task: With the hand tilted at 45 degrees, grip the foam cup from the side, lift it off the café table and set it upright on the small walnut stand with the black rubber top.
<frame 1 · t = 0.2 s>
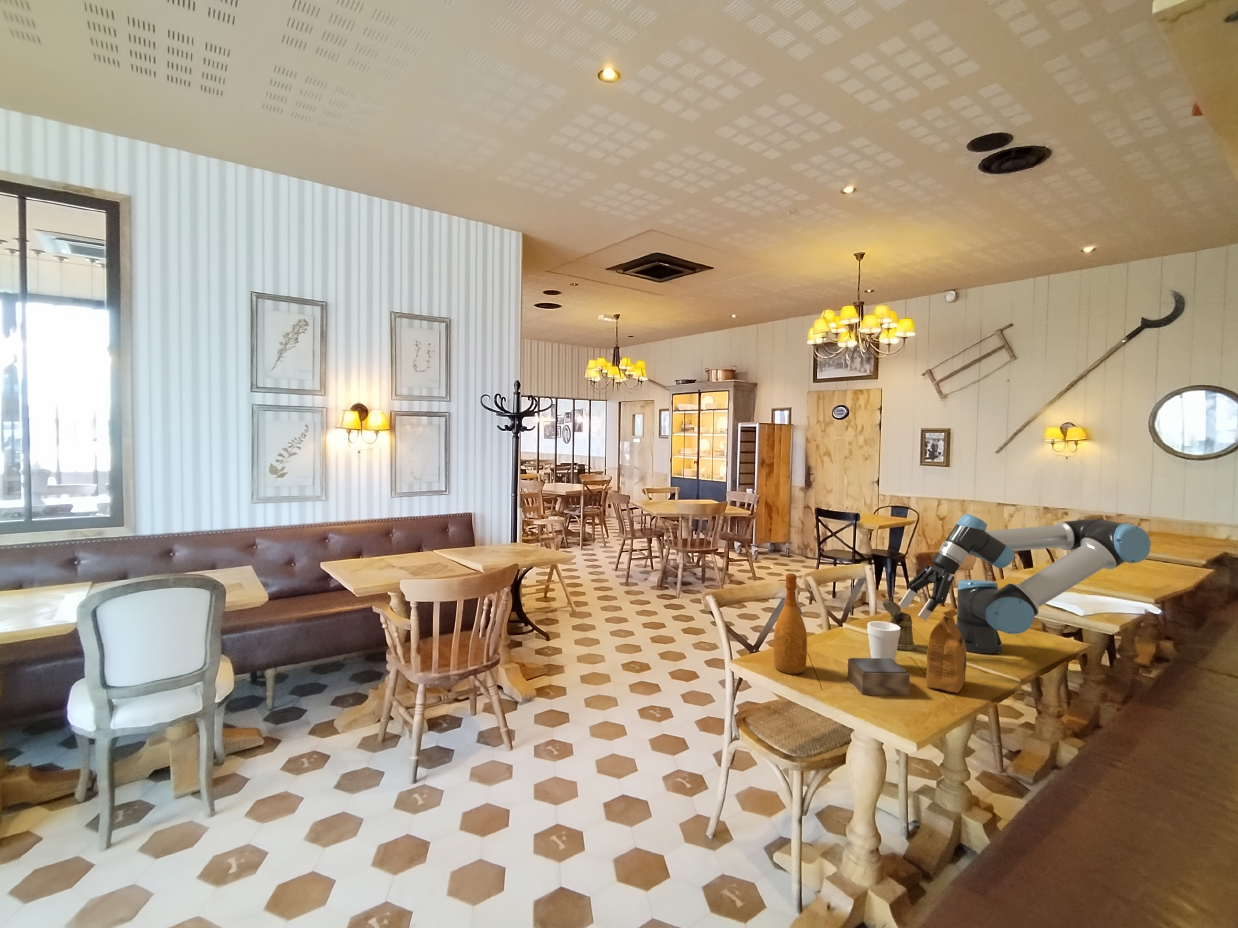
hand: (911, 612, 186), 16 cm above the table, tool tilted 35°, fingers open, 13 cm apart
wooden mug: (896, 648, 198), on the table
coffee package: (946, 686, 167), on the table
walnut stand: (877, 686, 167), on the table
wine bottle: (789, 669, 179), on the table
foam cup: (882, 667, 182), on the table
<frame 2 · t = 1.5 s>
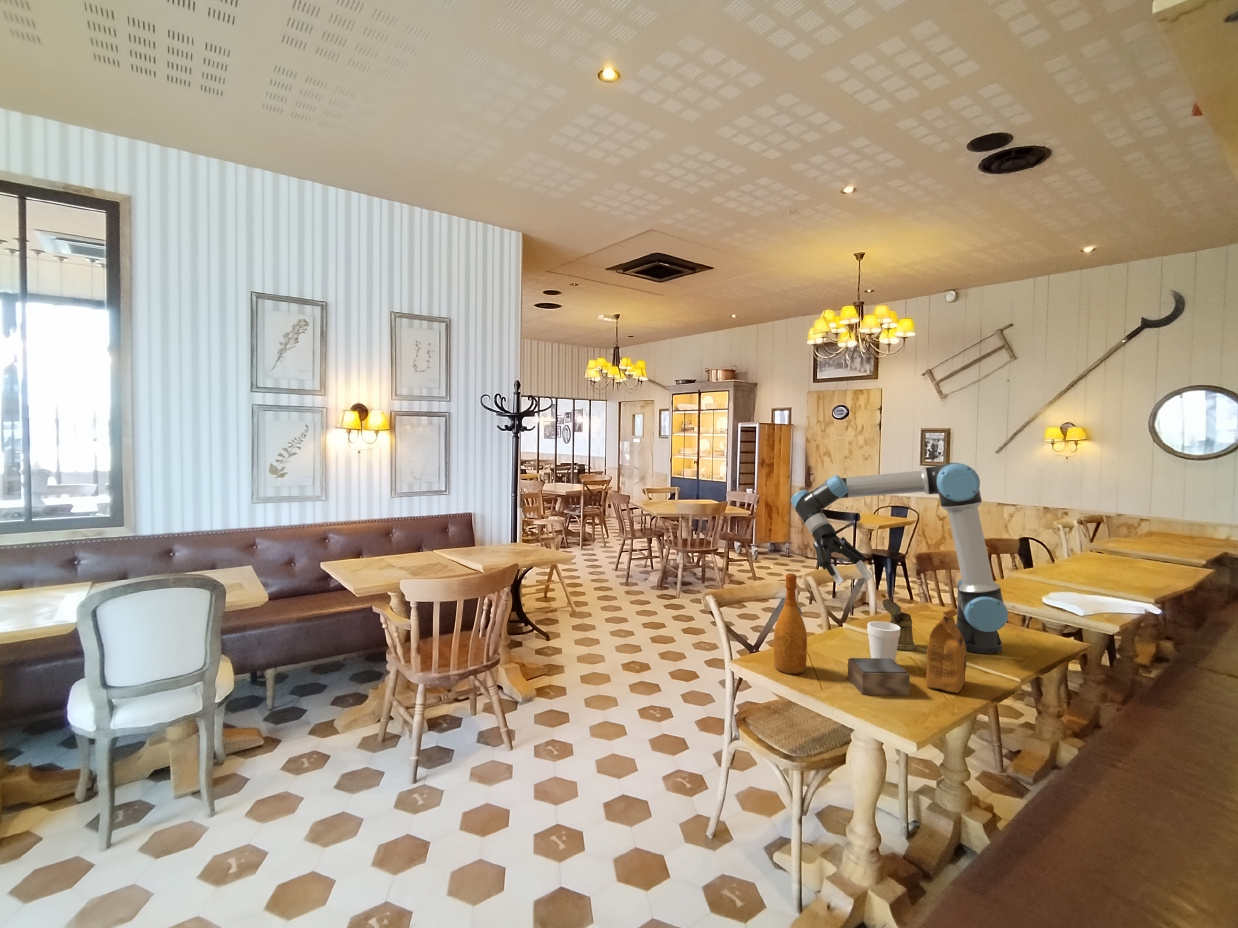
hand: (855, 580, 190), 25 cm above the table, tool tilted 45°, fingers open, 13 cm apart
nothing on the table moved.
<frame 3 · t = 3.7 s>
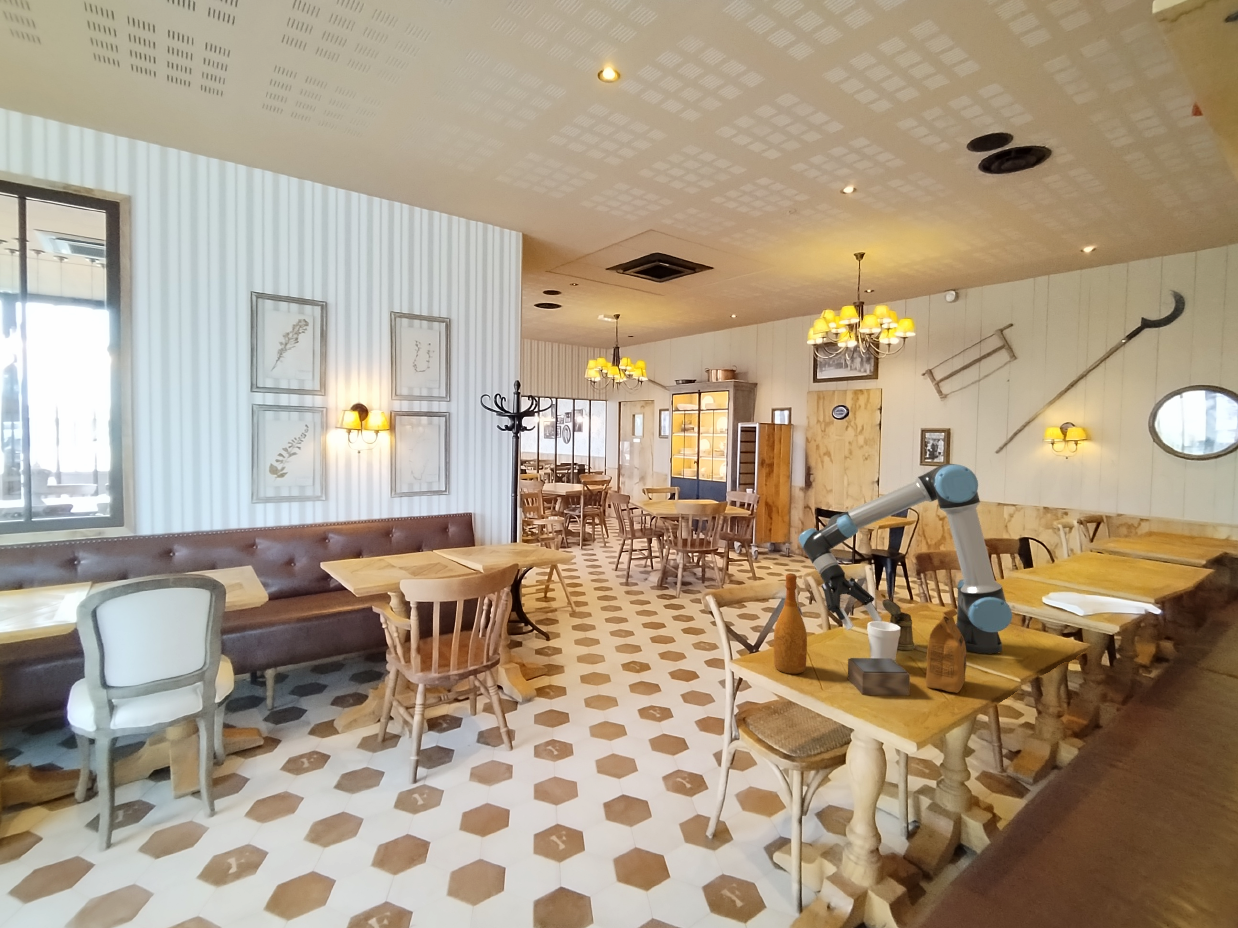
hand: (865, 625, 186), 12 cm above the table, tool tilted 45°, fingers open, 13 cm apart
nothing on the table moved.
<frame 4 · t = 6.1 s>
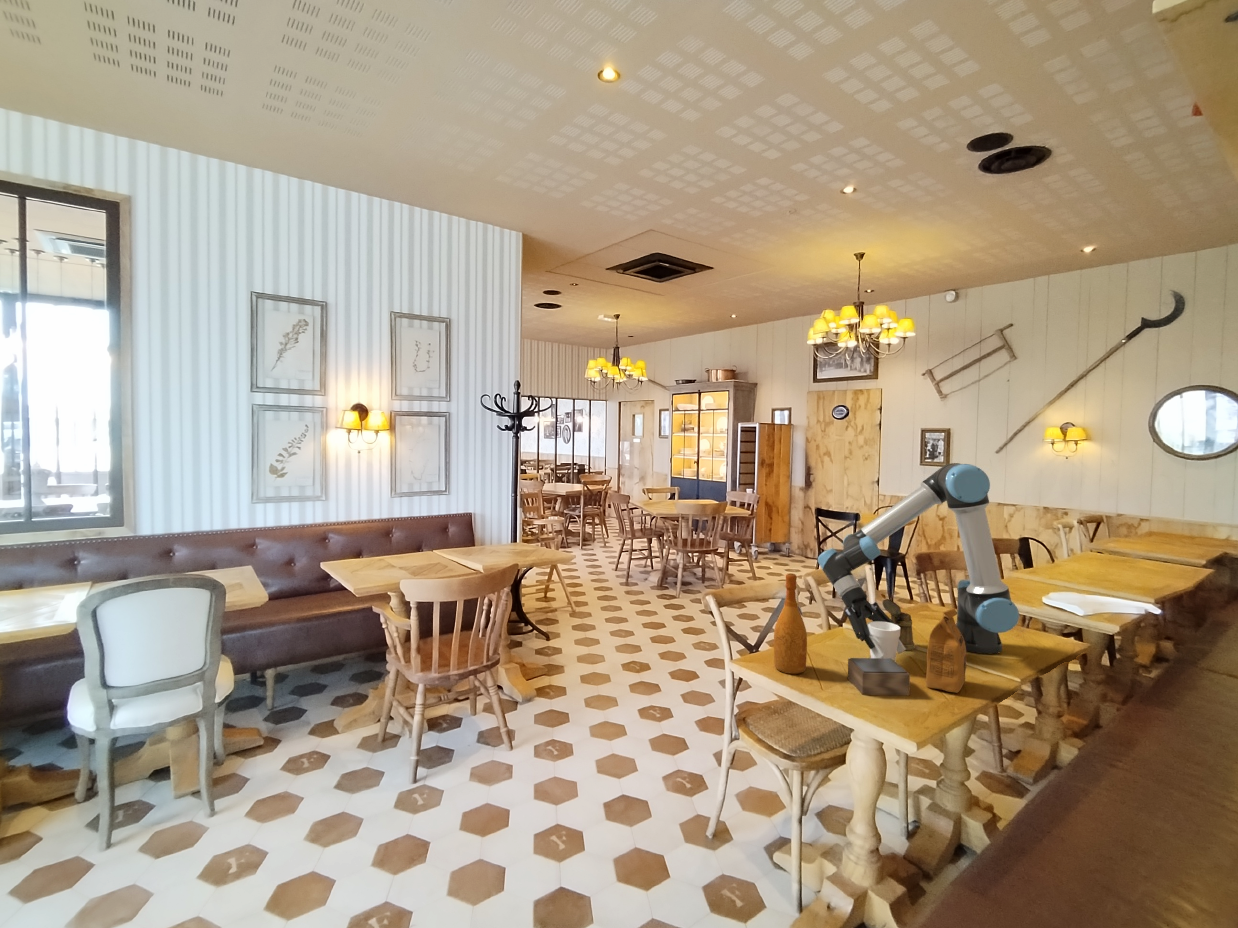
hand: (892, 654, 179), 5 cm above the table, tool tilted 45°, fingers closed on foam cup, 9 cm apart
foam cup: (882, 666, 182), on the table, touching gripper
everything else where it was.
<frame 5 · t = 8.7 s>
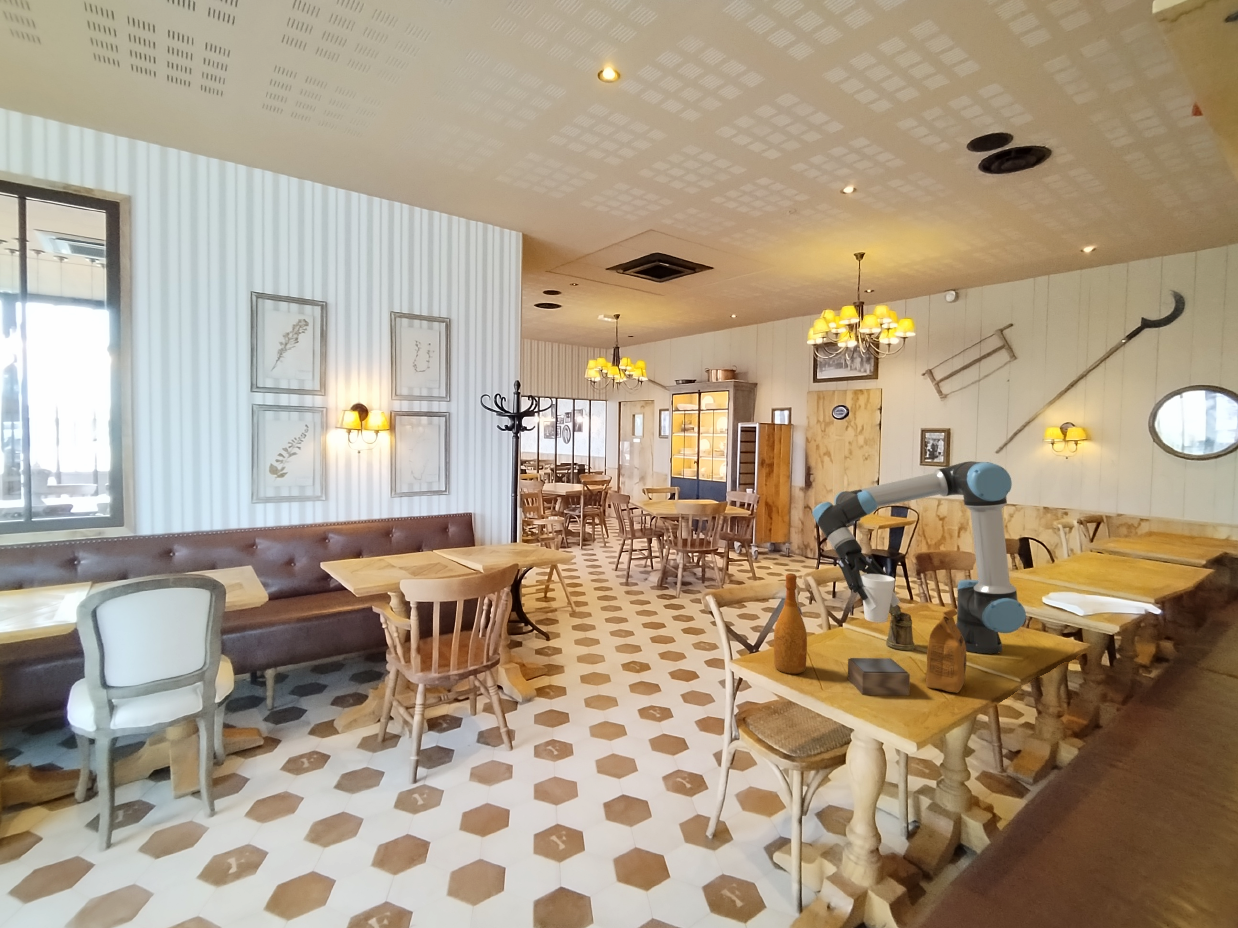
hand: (885, 606, 173), 21 cm above the table, tool tilted 45°, fingers closed on foam cup, 9 cm apart
foam cup: (875, 619, 177), point 16 cm above the table, touching gripper
everything else where it was.
when the fingers open (13 cm above the table, at t = 11.3 s): foam cup drops 1 cm, resting on walnut stand.
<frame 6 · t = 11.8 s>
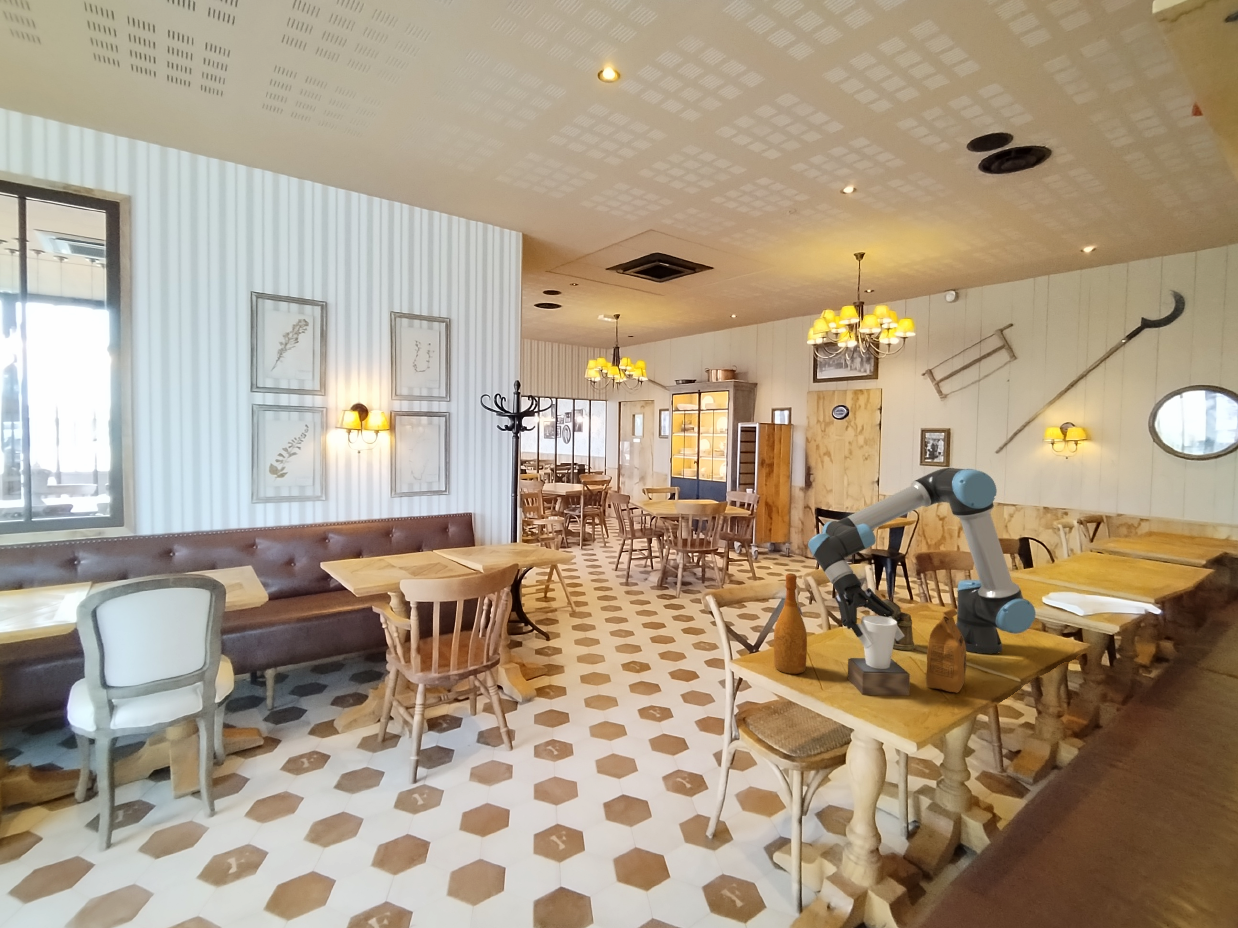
hand: (885, 642, 164), 14 cm above the table, tool tilted 45°, fingers open, 13 cm apart
foam cup: (877, 665, 167), point 6 cm above the table, touching walnut stand
everything else where it was.
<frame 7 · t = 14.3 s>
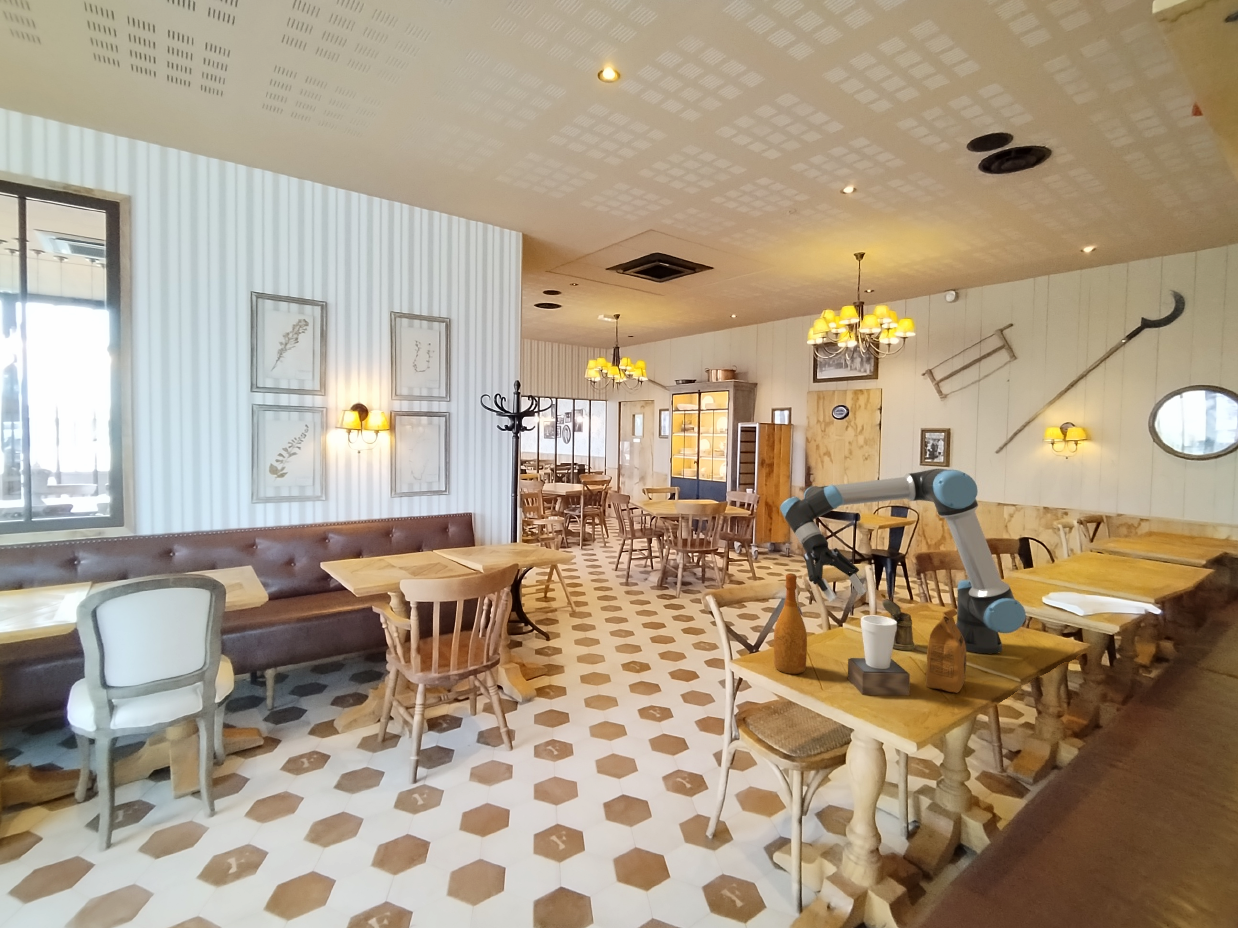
hand: (848, 596, 176), 24 cm above the table, tool tilted 45°, fingers open, 13 cm apart
nothing on the table moved.
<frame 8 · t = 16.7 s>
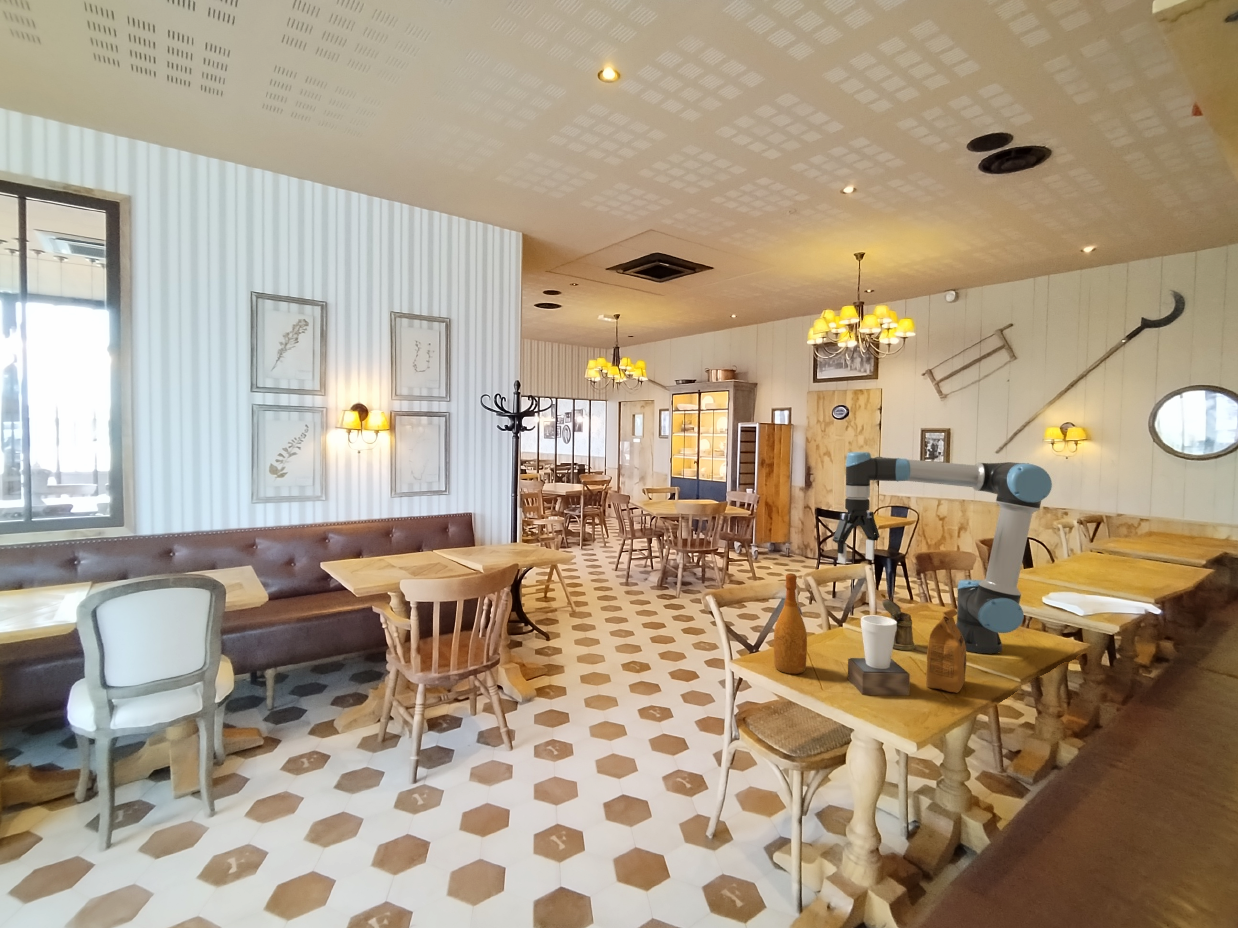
hand: (856, 561, 193), 31 cm above the table, tool pointing down, fingers open, 13 cm apart
nothing on the table moved.
at the end: foam cup inside the target area on the walnut stand (0.2 cm from its centre), point 6.2 cm above the walnut stand's base; foam cup tilted 0°; the gripper is holding nothing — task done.
